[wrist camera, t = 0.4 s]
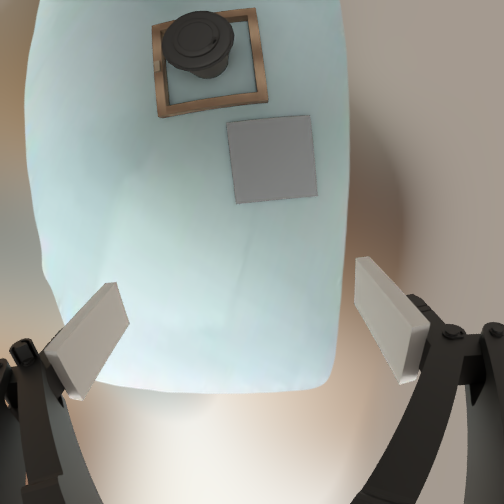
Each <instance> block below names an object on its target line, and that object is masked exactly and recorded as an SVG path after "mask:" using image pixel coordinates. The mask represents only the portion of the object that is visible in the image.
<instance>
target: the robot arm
mask: <svg viewBox="0 0 504 504" xmlns="http://www.w3.org/2000/svg"><path fill="white" fill-rule="evenodd" d="M355 269H356V270H355V300H354V304H355V306H356V307H357V309H358V311H359V313H360V314H361V316H362V318H363V320H364V321H365V323H366V325H367V327H368V328H369V330H370V332H371V333H372V335H373V337H374V339H375V341H376V343H377V344H378V346H379V348H380V350H381V351H382V353H383V355H384V357H385V359H386V361H387V363H388V364H389V366H390V368H391V370H392V372H393V374H394V375H395V378H396V379H397V381H398V383H399V384H403V383H407V382H411V381H414V380H416V378H417V374H418V371H419V369H420V371H421V375H420V377H419V380H418V382H417V385H416V387H415V390H414V392H413V394H412V397H411V399H410V402H409V404H408V406H407V408H406V410H405V413H404V415H403V417H402V419H401V421H400V423H399V425H398V427H397V429H396V431H395V433H394V435H393V437H392V439H391V441H390V443H389V445H388V446H387V449H386V451H385V452H384V454H383V456H382V457H381V459H380V461H379V463H378V464H377V466H376V468H375V469H374V471H373V473H372V475H371V476H370V477H369V479H368V481H367V483H366V484H365V485H364V487H363V488H362V490H361V491H360V492H359V493H358V494H357V495H356V497H355V498H354V499H353V501H352V502H351V503H350V504H415V503H416V501H417V499H418V497H419V495H420V493H421V490H422V488H423V486H424V484H425V482H426V479H427V477H428V475H429V472H430V470H431V468H432V465H433V463H434V460H435V458H436V455H437V452H438V450H439V447H440V444H441V441H442V438H443V436H444V432H445V430H446V426H447V423H448V420H449V417H450V413H451V410H452V406H453V402H454V399H455V395H456V391H457V386H458V385H465V391H466V403H467V426H468V456H467V476H466V489H465V498H464V504H504V325H503V324H500V323H496V322H490V323H487V324H485V325H484V327H483V329H482V332H481V334H469V335H467V334H466V332H465V331H464V329H462V328H461V327H459V326H457V325H453V324H445V323H444V322H443V321H442V320H441V319H440V318H439V317H438V315H437V314H436V313H435V312H434V311H433V310H431V308H430V307H429V306H427V304H426V303H425V302H424V301H423V300H422V299H421V298H419V297H418V296H415V295H414V294H410V295H405V294H404V293H403V292H402V291H401V290H400V289H399V287H398V286H397V285H396V284H395V283H394V282H393V281H392V280H391V279H390V278H389V277H388V276H387V275H386V274H385V273H384V272H383V270H382V269H381V268H380V267H379V266H378V265H377V264H376V263H375V262H374V261H373V260H372V259H371V258H370V257H369V256H368V257H360V258H356V267H355ZM129 324H130V323H129V320H128V317H127V314H126V311H125V308H124V305H123V302H122V299H121V296H120V293H119V289H118V286H117V283H116V282H113V283H105V284H104V285H103V286H102V287H101V288H100V289H99V290H98V291H97V292H96V293H95V294H94V295H93V296H92V297H91V299H90V300H89V301H88V302H87V303H86V304H85V305H84V306H83V307H82V308H81V309H80V310H79V311H78V312H77V313H76V315H75V316H74V317H73V318H72V319H71V320H70V321H69V322H68V323H67V324H66V325H65V327H64V328H62V329H61V330H60V331H59V332H58V333H57V334H56V335H55V337H53V339H52V340H51V341H50V342H49V343H48V344H47V345H46V346H45V348H44V349H43V350H42V351H41V352H40V353H39V354H38V352H37V350H36V348H35V346H34V344H33V342H32V340H31V339H29V338H28V339H26V338H25V339H22V340H20V341H18V342H16V343H14V344H13V345H12V346H11V348H10V350H9V352H10V354H11V355H12V357H13V359H14V361H15V363H16V364H17V366H15V367H10V365H9V363H8V362H7V360H6V359H4V358H3V359H0V504H103V502H102V500H101V498H100V496H99V494H98V492H97V489H96V487H95V485H94V483H93V480H92V478H91V476H90V473H89V471H88V468H87V466H86V463H85V461H84V458H83V456H82V453H81V450H80V447H79V445H78V442H77V439H76V436H75V433H74V430H73V426H72V423H71V420H70V416H69V413H68V409H67V405H66V402H65V399H64V398H63V396H62V393H63V391H64V390H66V392H67V393H68V395H69V397H70V398H71V399H77V400H82V401H83V400H84V398H85V397H86V395H87V393H88V391H89V390H90V388H91V386H92V384H93V383H94V381H95V379H96V378H97V376H98V374H99V372H100V371H101V369H102V367H103V366H104V364H105V362H106V361H107V359H108V358H109V356H110V354H111V353H112V351H113V349H114V348H115V346H116V344H117V343H118V341H119V340H120V338H121V336H122V335H123V333H124V332H125V330H126V329H127V327H128V325H129ZM5 400H6V401H7V403H8V404H9V406H8V407H7V405H6V403H5ZM26 474H27V478H28V485H26V486H25V479H26Z"/></svg>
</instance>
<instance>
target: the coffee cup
mask: <svg viewBox="0 0 504 504" xmlns="http://www.w3.org/2000/svg"><path fill="white" fill-rule="evenodd" d="M233 41H234V32H233V29H232V26H231V25H230V23H229V22H228V21H227V20H226V18H224V17H222V16H221V15H219V14H217V13H214V12H209V11H195V12H191V13H188V14H185V15H183V16H181V17H179V18H178V19H176V20H175V21H174V22H173V23H172V24H171V25H170V26H169V27H168V28H167V30H166V32H165V34H164V36H163V39H162V46H161V47H162V51H163V55H164V57H165V58H166V60H167V61H168V63H170V64H171V65H173V66H174V67H176V68H178V69H181V70H185V71H189V72H191V73H193V74H194V75H196V76H198V77H200V78H203V79H210V78H214V77H217V76H218V75H220V74H221V73H222V72H223V71H224V70H225V69H226V67H227V65H228V55H229V51H230V49H231V47H232V46H233Z"/></svg>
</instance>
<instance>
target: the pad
mask: <svg viewBox="0 0 504 504" xmlns="http://www.w3.org/2000/svg"><path fill="white" fill-rule="evenodd" d="M226 125H227V133H228V142H229V150H230V158H231V167H232V175H233V183H234V191H235V199H236V204H241V203H250V202H259V201H269V200H279V199H290V198H301V197H313V196H318V194H317V181H316V169H315V158H314V147H313V137H312V128H311V119H310V115H308V116H290V117H276V118H265V119H255V120H245V121H237V122H229V123H226Z"/></svg>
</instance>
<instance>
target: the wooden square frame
mask: <svg viewBox="0 0 504 504" xmlns="http://www.w3.org/2000/svg"><path fill="white" fill-rule="evenodd" d="M214 13H217V14H219V15H221V16H222V17H224V18H226V20H227V21H228V22H229V23H232V22H241V21H248V26H249V33H250V40H251V47H252V55H253V62H254V70H255V78H256V86H257V92H254V93H244V94H236V95H228V96H221V97H214V98H208V99H202V100H196V101H190V102H185V103H180V104H175V105H169V94H168V83H167V72H166V58H165V57H164V55H163V51H162V47H161V46H162V39H163V36H164V34H165V32H166V30H167V28H168V27H169V26H170V25H171V24H172V23H173V22H174V21H175V20H173V21H169V22H165V23H161V24H157V25H153V26H152V46H153V63H154V77H155V90H156V101H157V111H158V117H160V118H166V117H171V116H176V115H181V114H187V113H192V112H198V111H204V110H210V109H217V108H224V107H231V106H239V105H248V104H258V103H268V93H267V85H266V77H265V70H264V63H263V55H262V48H261V41H260V34H259V28H258V21H257V15H256V8H246V9H237V10H228V11H221V12H214Z"/></svg>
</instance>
